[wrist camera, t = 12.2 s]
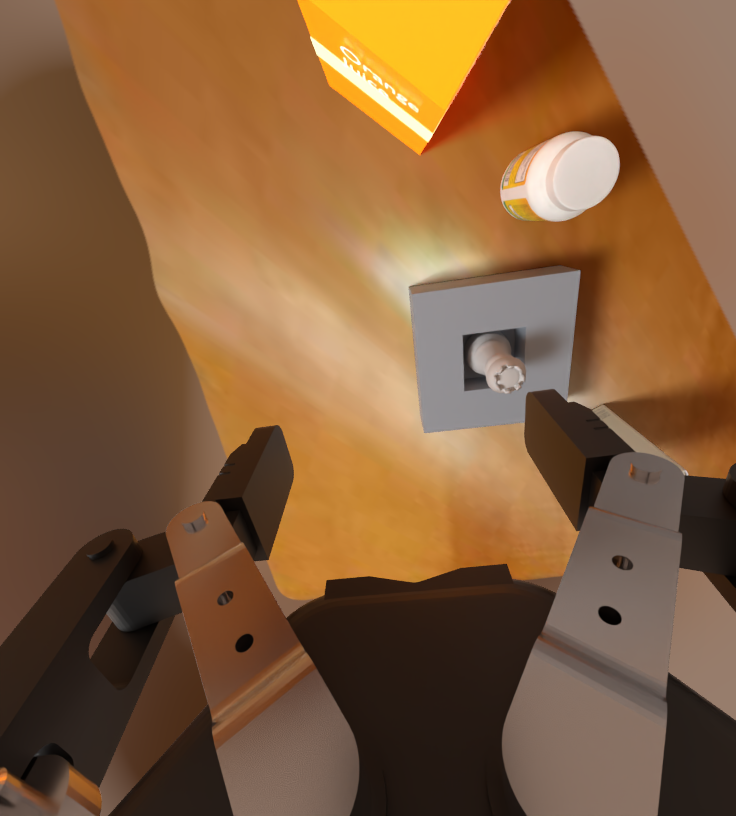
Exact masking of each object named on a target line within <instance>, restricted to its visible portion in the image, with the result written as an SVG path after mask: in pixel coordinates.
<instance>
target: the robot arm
mask: <svg viewBox="0 0 736 816" xmlns="http://www.w3.org/2000/svg"><path fill="white" fill-rule="evenodd" d="M524 437H525V444H526V448H527V451H528V453H529V455H530V457H531V458H532V460H533V461H534V463H535V465H536V466H537V468H538V470H539V471H540V473H541V474H542V476H543V478H544V479H545V481H546V482H547V484H548V486H549V487H550V489H551V491H552V492H553V494H554V495H555V497H556V499H557V500H558V502H559V504H560V505H561V507H562V508H563V510H564V512H565V513H566V515H567V516H568V518H569V520H570V521H571V523H572V525H573V526H574V528H575V529H576V531H580V532H579V535H578V538H577V540H576V543H575V546H574V548H573V551H572V554H571V556H570V559H569V562H568V564H567V567H566V570H565V572H564V575H563V578H562V580H561V583H560V586H559V589H558V591H557V593H555V592H553V591H550V590H548V589H546V588H544V587H541V586H538V585H535V584H532V583H529V582H525V581H521V580H516V579H512V577H511V574H510V572H509V569H508V566H507V564H501V565H489V566H478V567H467V568H460V569H457V570H454V571H451V572H448V573H445V574H442V575H439V576H436V577H433V578H430V579H427V580H424V581H421V582H416V583H411V582H404V581H397V580H390V579H384V578H377V577H370V576H368V577H357V578H346V579H335V580H327V581H326V589H325V595H324V596H322V597H319V598H317V599H314V600H312V601H310V602H308V603H307V604H305V605H303V606H302V607H300V608H298V609H297V610H296V611H295V612H293V613H292V614H290V615H289V616H288V617H287V618H286V617H285V615H284V614H283V612H282V610H281V608H280V606H279V605H278V603H277V601H276V600H275V598H274V596H273V594H272V592H271V591H270V589H269V587H268V585H267V584H266V582H265V580H264V578H263V577H262V575H261V573H260V572H259V569H258V568H257V566H256V564H255V562H254V561H262V560H269V556H270V553H271V550H272V547H273V544H274V540H275V537H276V534H277V531H278V528H279V524H280V521H281V518H282V515H283V512H284V508H285V505H286V502H287V499H288V495H289V492H290V489H291V486H292V483H293V478H294V470H293V464H292V460H291V457H290V454H289V451H288V448H287V445H286V442H285V438H284V435H283V432H282V430H281V428H280V426H278V425H275V426H268V427H260V428H256V429H255V430H254V431H253V433H252V435H251V436H250V438H249V440H248V442H247V444H242V445H241V446H240V447H238V448H237V449H236V450H235V451H234V452H233V453H231V454H230V456H229V458H228V459H227V461H226V463H225V465H224V467H223V468H222V469H221V471H220V473H219V475H218V476H217V478H216V479H215V481H214V483H213V484H212V486H211V488H210V489H209V491H208V493H207V494H206V496H205V498H204V499H203V501H202V502H200V503H196V504H193V505H191V506H189V507H187V508H186V509H184V510H182V511H181V512H179V513H178V514H177V515H176V516H175V517H173V519H172V520H171V521H170V522H169V524H168V525H167V528H166V532H164V533H160V534H157V535H154V536H151V537H149V538H145V539H142V540H140V541H137V540H136V538H135V537H134V535H133V534H132V532H131V531H130V530H127V529H116V530H112V531H109V532H107V533H104V534H102V535H100V536H98V537H96V538H94V539H93V540H91V541H90V542H88V543H87V544H86V545H84V546H83V547H82V548H81V549H80V550H79V551H78V552H77V553H76V554H75V555H74V556H73V558H72V559H71V560H70V561H69V563H68V564H67V565H66V566H65V567H64V569H63V570H62V571H61V572H60V574H59V575H58V576H57V577H56V579H55V580H54V581H53V582H52V583H51V585H50V586H49V587H48V588H47V590H46V591H45V592H44V593H43V594H42V596H41V597H40V598H39V599H38V601H37V602H36V603H35V604H34V606H33V607H32V608H31V609H30V611H29V612H28V613H27V614H26V615H25V617H24V618H23V619H22V620H21V621H20V623H19V624H18V625H17V626H16V628H15V629H14V630H13V631H12V633H11V634H10V635H9V636H8V637H7V639H6V640H5V641H4V642H3V644H2V645H1V646H0V816H100V813H101V806H102V799H101V793H100V790H99V787H100V784H101V782H102V780H103V778H104V775H105V773H106V771H107V769H108V766H109V764H110V762H111V760H112V757H113V755H114V752H115V750H116V748H117V746H118V744H119V741H120V739H121V737H122V735H123V732H124V730H125V728H126V725H127V723H128V721H129V719H130V717H131V714H132V712H133V710H134V707H135V705H136V703H137V701H138V698H139V696H140V694H141V692H142V689H143V687H144V685H145V683H146V680H147V678H148V676H149V673H150V671H151V669H152V667H153V664H154V662H155V660H156V658H157V655H158V653H159V651H160V649H161V646H162V644H163V642H164V639H165V637H166V635H167V633H168V631H169V628H170V626H171V624H172V621H173V619H174V617H175V615H176V614H179V613H182V612H183V616H184V619H185V623H186V626H187V630H188V633H189V637H190V640H191V644H192V648H193V651H194V655H195V658H196V662H197V665H198V669H199V673H200V676H201V680H202V683H203V687H204V690H205V694H206V697H207V701H208V705H207V706H206V707H205V708H204V709H203V711H202V712H201V713H200V714H199V715H198V716H197V717H196V718H195V719H194V721H193V722H192V723H191V724H190V725H189V726H188V727H187V728H186V730H185V731H184V732H183V733H182V734H181V735H180V736H179V737H178V738H177V740H176V741H175V742H174V743H173V744H172V745H171V746H170V747H169V748H168V750H167V751H166V752H165V753H164V754H163V755H162V756H161V757H160V758H159V760H158V761H157V762H156V763H155V764H154V765H153V766H152V767H151V769H150V770H149V771H148V772H147V773H146V774H145V775H144V776H143V777H142V779H141V780H140V781H139V782H138V783H137V784H136V785H135V786H134V788H133V789H132V790H131V791H130V792H129V793H128V794H127V796H125V798H124V799H123V800H122V801H121V802H120V803H119V804H118V805H117V807H116V808H115V809H114V810H113V811H112V812H111V813H110V814H109V815H108V816H736V720H734V719H733V718H731V717H730V716H729V715H727V714H726V713H724V712H723V711H722V710H720V709H719V708H717V707H716V706H715V705H713V704H712V703H711V702H709V701H708V700H706V699H705V698H704V697H702V696H701V695H699V694H698V693H697V692H695V691H694V690H693V689H691V688H690V687H688V686H687V685H686V684H684V683H683V682H681V681H680V680H679V679H677V678H676V677H674V676H673V675H671V674H670V673H669V672H668V668H669V658H670V649H671V639H672V630H673V619H674V611H675V602H676V592H677V583H678V573H679V568H684V569H690V570H696V571H702V572H703V573H704V574H705V575H706V576H707V577H708V579H709V580H710V581H711V582H712V584H713V585H714V586H715V587H716V589H717V590H718V591H719V592H720V593H721V595H722V596H723V597H724V598H725V600H726V601H727V602H728V603H729V605H730V606H731V607H732V608H733V609H734V611H735V612H736V464H734V465H732V466H731V468H730V470H729V472H728V475H727V478H726V479H720V478H708V477H697V476H687V475H684V474H683V472H682V470H681V469H680V468H679V467H678V466H677V465H675V464H674V463H672V462H670V461H669V460H667V459H664V458H662V457H659V456H656V455H652V454H647V453H640V452H635V451H634V450H633V449H632V448H631V447H630V446H629V445H628V444H627V443H626V442H625V441H624V440H623V439H622V438H620V437H619V436H618V435H617V434H616V433H615V432H614V431H613V430H612V429H611V428H609V427H608V425H607V424H606V423H604V422H603V421H602V420H600V418H599V417H598V416H597V415H596V414H595V413H594V412H593V411H592V410H591V409H589V408H587V407H585V406H582V405H580V404H578V403H576V402H569V403H568V402H567V401H566V400H565V399H564V398H563V397H562V396H561V395H560V394H559V393H558V392H557V391H556V390H555V389H548V390H540V391H533V392H528V393H527V395H526V404H525V432H524ZM106 614H107V615H108V616H109V618H110V619H111V620H112V623H111V625H110V627H109V628H108V630H107V632H106V633H105V635H104V637H103V638H102V640H101V642H100V643H99V645H98V647H97V649H96V650H95V652H94V654H93V655H92V657H91V659H90V658H89V652H88V651H89V644H90V641H91V638H92V636H93V634H94V632H95V631H96V629H97V627H98V626H99V624H100V623H101V621H102V619H103V618H104V616H105V615H106Z"/></svg>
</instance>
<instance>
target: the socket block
mask: <svg viewBox="0 0 736 816" xmlns="http://www.w3.org/2000/svg"><path fill="white" fill-rule="evenodd" d="M580 271H581V270H577V269H573V268H569V267H565V266H561V265H558V266H551V267H544V268H537V269H530V270H523V271H516V272H509V273H502V274H495V275H488V276H481V277H474V278H467V279H460V280H454V281H447V282H440V283H433V284H426V285H419V286H412V287H409V296H410V307H411V318H412V328H413V339H414V350H415V361H416V372H417V383H418V394H419V405H420V415H421V420H422V425H423V430H424V433H431V432H440V431H449V430H459V429H468V428H477V427H486V426H496V425H505V424H514V423H524V422H525V404H526V395H527V393H528V392H533V391H540V390H548V389H555V390H556V391H557V392H558V393H559V394H560V395H561V396H562V397H563V398H564V399H565V400H566V401H567V397H568V387H569V378H570V368H571V358H572V349H573V339H574V329H575V320H576V310H577V300H578V291H579V281H580ZM490 331H500V332H501V333H502V334H503V335H504V336H505V337H506V338H507V340H509V343H510V346H511V356H513V357H514V358H517V359H520V360H521V361H522V362H523V363H524V365H525V368H526V378H525V382H523V383H522V385H521V386H522V388H520V389H519V390H518V391H517V390H514V391H512V392H511V394H505V393H498V392H495V391H493V390H492V389H491V388H490V387H489V386H488V383H487V381H486V376H485V375H482V374H479V373H476V372H474V371H473V370H472V369H471V368H470V367H469V366H468V365H467V364H466V361H465V359H464V347H465V345H466V343H467V340H468V339H469V338H470V337H471V336H472V335H473V334H475V333H483V332H490Z"/></svg>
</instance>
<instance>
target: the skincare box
mask: <svg viewBox="0 0 736 816" xmlns="http://www.w3.org/2000/svg"><path fill="white" fill-rule="evenodd" d="M592 411H593V412H594V413H595V414H596V415H597V416H598V417H599V418H600V420H602V421H603V422H604V423H606V424H607V425H608V427H609V428H611V429H612V430H613V431H614V432H615V433H616V434H617V435H618V436H619V437H620V438H622V439H623V440H624V441H625V442H626V443H627V444H628V445H629V446H630V447H631V448H632V449H633V450H634V451H635V452H640V453H647V454H652V455H656V456H659V457H662V458H664V459H667V460H669V461H670V462H672V463H674V464H675V465H677V466H678V467H679V468H680V469H681V470H682V472H683V474H684V475H687V476H689V475H688V473H687V471H686V470H685V469H684V468H683V467H681V466H680V465H679V464H678V463H677V462H675V461H674V460H673V459H671V458H670V457H669V456H668V455H666V454H665V453H664V452H663V451H661V450H660V449H659V448H658V447H656V446H655V445H654V444H653V443H651V442H650V441H649V440H648V439H646V438H645V437H644V436H643V435H641V434H640V433H639V432H638V431H636V430H635V429H634V428H633V427H631V426H630V425H629V424H628V423H626V422H625V421H624V420H623V419H621V418H620V417H619V416H618V415H616V414H615V413H614V412H613V411H611V410H610V409H609V408H608V407H606V406H605V405H601V406H599V407H597V408H595V409H593V410H592Z"/></svg>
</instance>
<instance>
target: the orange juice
mask: <svg viewBox="0 0 736 816" xmlns="http://www.w3.org/2000/svg"><path fill="white" fill-rule="evenodd" d="M509 2H510V0H298V3H299V6H300V8H301V11H302V14H303V16H304V19H305V22H306V24H307V27H308V30H309V32H310V35H311V37H310V38H311V40H312V43H313V46H314V48H315V51H316V53H317V55H318V56H319V59H320V62H321V64H322V67H323V70H324V72H325V75H326V78H327V80H328V83H329V85H330V86H331V87H332V88H333V89H335V90H336V91H337V92H339V93H340V94H341V95H342V96H344V97H345V98H346V99H348V100H349V101H350V102H352V103H353V104H354V105H355V106H357V107H358V108H359V109H361V110H362V111H363V112H365V113H366V114H367V115H368V116H370V117H371V118H372V119H374V120H375V121H376V122H377V123H379V124H380V125H381V126H383V127H384V128H385V129H387V130H388V131H389V132H390V133H392V134H393V135H394V136H396V137H397V138H398V139H399V140H401V141H402V142H403V143H405V144H406V145H407V146H409V147H410V148H411V149H412V150H414V151H415V152H416V153H418V154H419V155H420V154H421V152H422V151H423V149H424V147H425V146H426V144H427V142H429V140H430V139H431V137H432V135H433V134H434V132H435V130H436V128H437V127H438V125H439V123H440V121H441V120H442V118H443V116H444V114H445V113H446V111H447V109H448V108H449V106H450V104H451V102H452V101H453V99H454V97H455V95H456V94H457V92H458V90H459V88H460V87H461V85H462V83H463V81H464V80H465V78H466V76H467V75H468V73H469V71H470V69H471V68H472V66H473V64H474V62H475V61H476V59H477V57H478V55H479V54H480V52H481V50H482V48H483V47H484V45H485V43H486V42H487V40H488V38H489V36H490V35H491V33H492V31H493V29H494V28H495V26H496V24H497V22H498V21H499V19H500V17H501V15H502V14H503V12H504V10H505V9H506V7H507V5H508V3H509ZM500 20H501V19H500ZM484 48H485V47H484ZM473 67H474V66H473ZM458 93H459V92H458ZM456 96H457V95H456ZM452 103H453V102H452Z"/></svg>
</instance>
